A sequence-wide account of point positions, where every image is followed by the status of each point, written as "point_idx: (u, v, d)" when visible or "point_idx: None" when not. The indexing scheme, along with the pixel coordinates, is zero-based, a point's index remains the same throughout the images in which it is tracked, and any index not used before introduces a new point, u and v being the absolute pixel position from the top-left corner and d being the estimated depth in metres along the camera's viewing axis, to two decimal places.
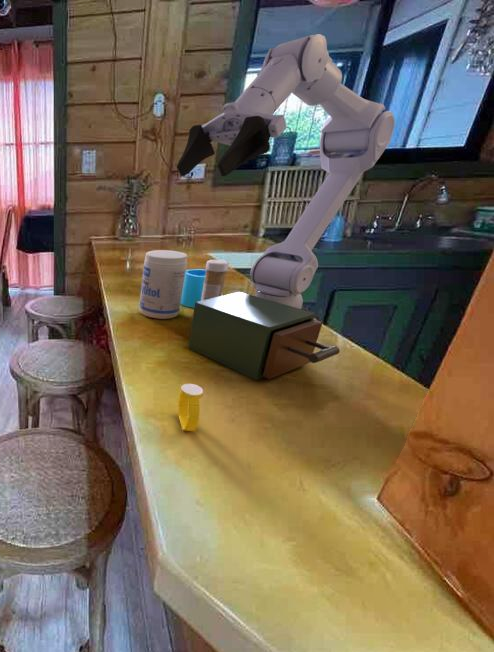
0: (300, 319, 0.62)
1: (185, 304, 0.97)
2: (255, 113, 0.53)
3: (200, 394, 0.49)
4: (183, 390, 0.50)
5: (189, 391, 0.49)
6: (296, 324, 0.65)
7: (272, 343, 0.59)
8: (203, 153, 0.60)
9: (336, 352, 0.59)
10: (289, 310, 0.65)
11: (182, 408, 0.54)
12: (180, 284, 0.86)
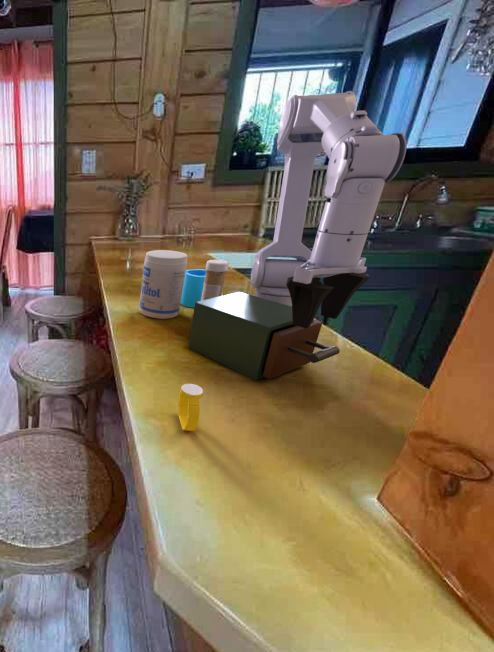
0: None
1: (185, 304, 0.97)
2: (360, 264, 0.55)
3: (200, 394, 0.49)
4: (183, 390, 0.50)
5: (189, 391, 0.49)
6: None
7: (272, 343, 0.59)
8: None
9: (336, 352, 0.59)
10: (289, 310, 0.65)
11: (182, 408, 0.54)
12: (180, 284, 0.86)
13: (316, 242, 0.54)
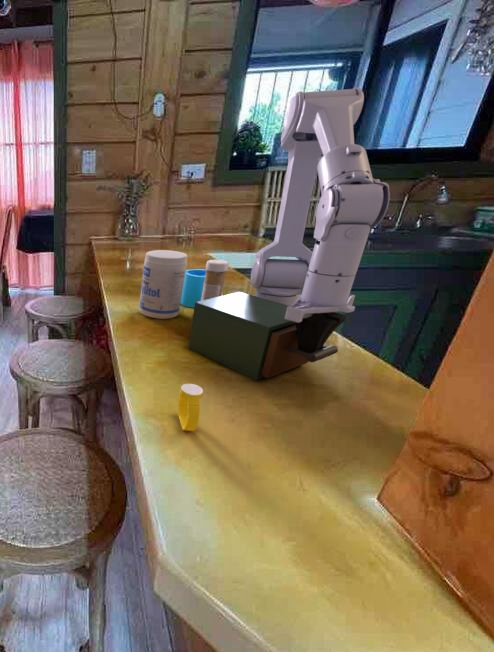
0: None
1: (185, 304, 0.97)
2: (349, 302, 0.57)
3: (200, 394, 0.49)
4: (183, 390, 0.50)
5: (189, 391, 0.49)
6: None
7: (270, 342, 0.60)
8: None
9: (334, 351, 0.59)
10: None
11: (182, 408, 0.54)
12: (180, 284, 0.86)
13: (306, 281, 0.56)
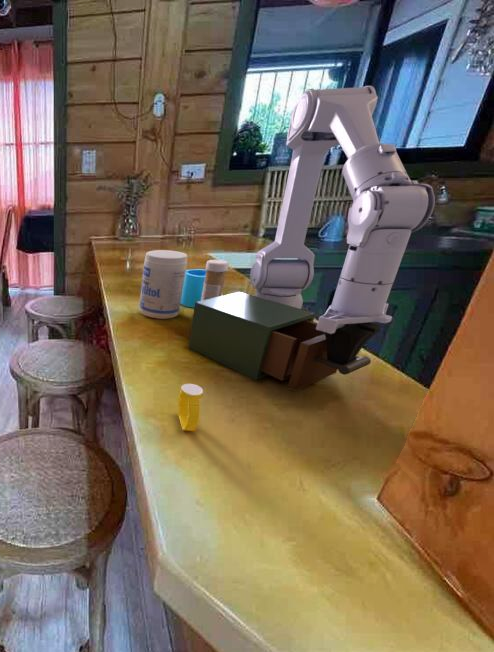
0: (300, 319, 0.62)
1: (185, 304, 0.97)
2: (384, 311, 0.53)
3: (200, 394, 0.49)
4: (183, 390, 0.50)
5: (189, 391, 0.49)
6: (322, 332, 0.62)
7: (299, 353, 0.56)
8: None
9: (367, 363, 0.55)
10: (289, 310, 0.65)
11: (182, 408, 0.54)
12: (180, 284, 0.86)
13: (339, 289, 0.53)
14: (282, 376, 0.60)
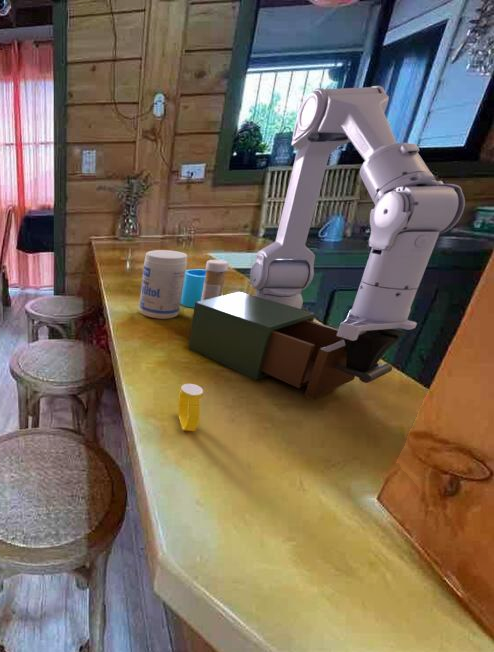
0: (300, 319, 0.62)
1: (185, 304, 0.97)
2: (406, 317, 0.51)
3: (200, 394, 0.49)
4: (183, 390, 0.50)
5: (189, 391, 0.49)
6: (339, 338, 0.60)
7: (317, 360, 0.54)
8: None
9: (389, 370, 0.53)
10: (289, 310, 0.65)
11: (182, 408, 0.54)
12: (180, 284, 0.86)
13: (360, 294, 0.51)
14: (299, 383, 0.58)
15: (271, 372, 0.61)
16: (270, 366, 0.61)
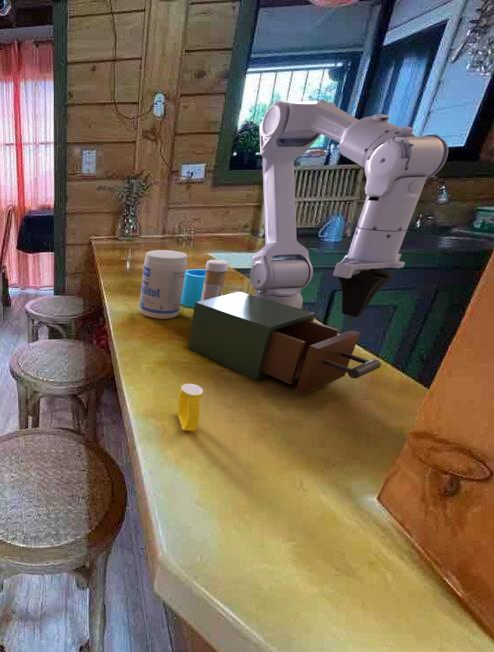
0: (300, 319, 0.62)
1: (185, 304, 0.97)
2: (396, 259, 0.57)
3: (200, 394, 0.49)
4: (183, 390, 0.50)
5: (189, 391, 0.49)
6: (330, 335, 0.61)
7: (307, 356, 0.55)
8: None
9: (377, 366, 0.54)
10: (289, 310, 0.65)
11: (182, 408, 0.54)
12: (180, 284, 0.86)
13: (355, 238, 0.56)
14: (290, 379, 0.59)
15: (263, 369, 0.62)
16: None
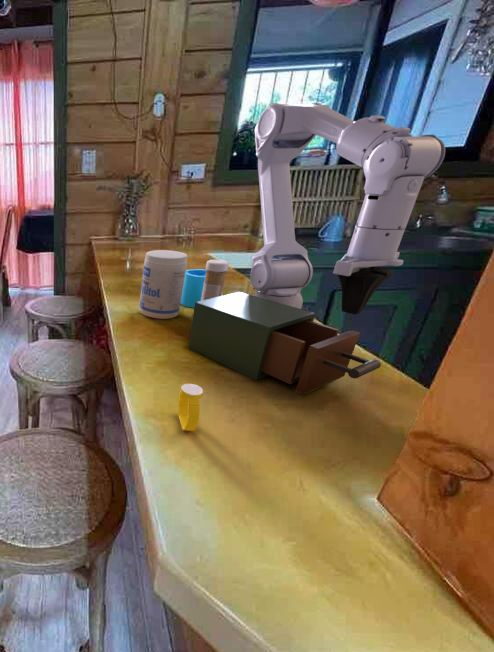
0: (300, 319, 0.62)
1: (185, 304, 0.97)
2: (395, 257, 0.58)
3: (200, 394, 0.49)
4: (183, 390, 0.50)
5: (189, 391, 0.49)
6: (330, 335, 0.61)
7: (307, 356, 0.55)
8: None
9: (377, 366, 0.54)
10: (289, 310, 0.65)
11: (182, 408, 0.54)
12: (180, 284, 0.86)
13: (354, 237, 0.57)
14: (290, 379, 0.59)
15: (263, 369, 0.62)
16: None
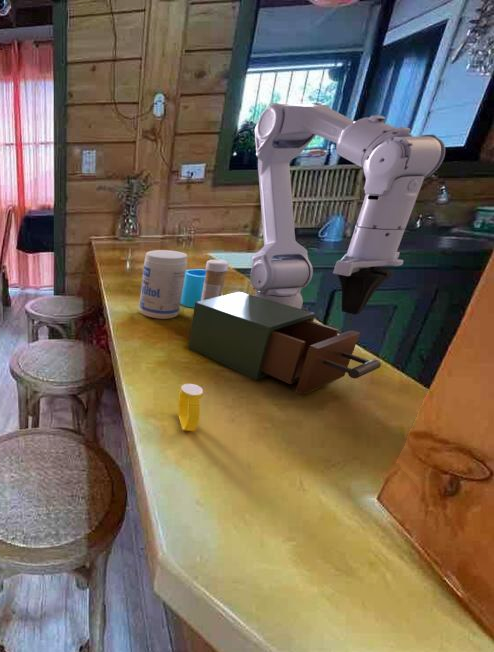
0: (300, 319, 0.62)
1: (185, 304, 0.97)
2: (395, 257, 0.58)
3: (200, 394, 0.49)
4: (183, 390, 0.50)
5: (189, 391, 0.49)
6: (330, 335, 0.61)
7: (307, 356, 0.55)
8: None
9: (377, 366, 0.54)
10: (289, 310, 0.65)
11: (182, 408, 0.54)
12: (180, 284, 0.86)
13: (354, 237, 0.57)
14: (290, 379, 0.59)
15: (263, 369, 0.62)
16: None
